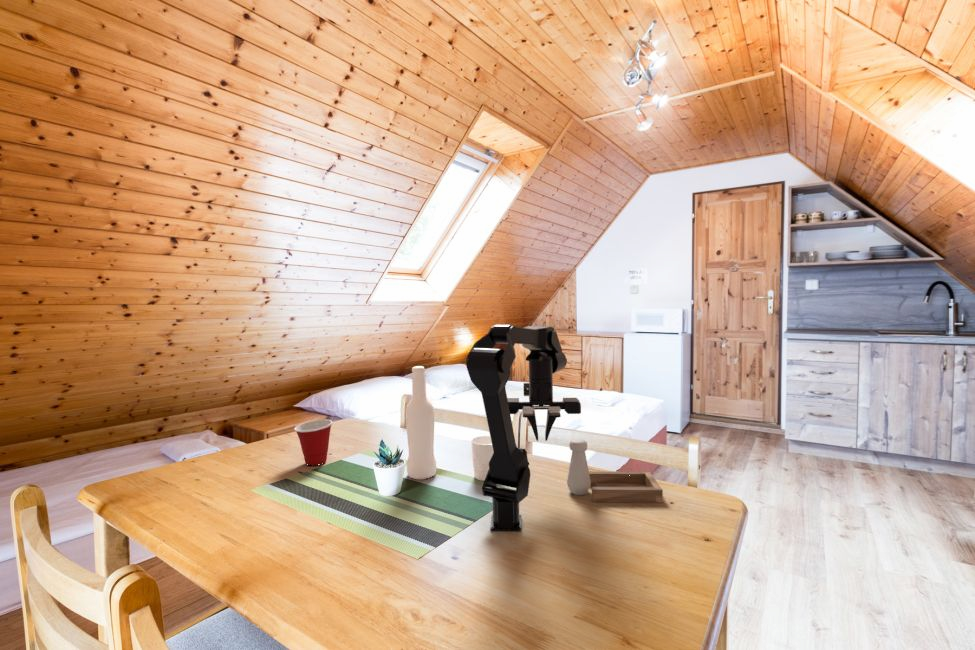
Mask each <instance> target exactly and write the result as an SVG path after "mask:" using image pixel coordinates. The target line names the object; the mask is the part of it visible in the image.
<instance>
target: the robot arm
mask: <svg viewBox="0 0 975 650" xmlns="http://www.w3.org/2000/svg"><path fill="white" fill-rule="evenodd" d="M560 342H561V341H560V339H559V336H558V334H557V331H556V330H555V328H554V326H546V325H545V326H543V325H542V326H540V325H539V326H538V325H533V326H532V325H529V326H524V327H522V326H516V325H513V324H495V325H492V326H490V328H489V330H488V332H487V333H486V334H484V335H483V336H482V337H481V338H479V339H478V340H477V341H475V342H474V344H473V345H472V347H471V349H470V350H469V352H468V354H467V356H466V358H465V366H466V370H467V373H468V376H469V379H470V382H471V383H472V384H473V385H474V386H475V388H477V390H479V391H480V393H481V397H482V402H483V407H484V411H485V415H486V421H487V427H488V432H489V436H490V437H491V442H492V446H493V452H494V453H493V455H492V457H491V459H490V461H489V470H488V473H487V475H486V478H485V481H483V484H482V486H481V491H482V496H484V497H491V498H492V499H491V500H492V503H491V504H492V505H491V506H492V514H491V519H490V525H489V527H490V529H489V530H490V531H511V532H512V531H513V532H514V531H522V514H520V503H521V502H522V501H523V500H524V499H526V498H527V497H528V496H529V488H530V481H531V469H530V467H529V466H530V462H529V459H528V452H527V450H526V449H525V448H521V447H518V446H517V443H516V438H515V437H516V436H515V433H514V428H513V427H514V426H513V421H512V417H511V416H512V415H517V414H518V412H519V411H520V410H521V411H522V417H523V418H525V419H527V421H528V422H529V424H530V427H531V429H532V430H533V434H534V437H535V440H536V441H537V442H538V441H539V432H538V425H537V420H536V419H537V418H536V412H535V411H536V410H547V411H546V412H547V414H546V423H545V433H544V436H545V437H544V438H545V439H544V441H548V439H549V436H550V433H551V430H552V428H553V425H554V423H555V421H556V419H557V418H560V417H561V410H564V412H566V414H568V415H577V414H578V415H580V414H581V413H582V405H581V402H580V400H579V399H578V398H577V397H562V401H554V394H553V393H554V391H553V389H554V388H553V382H554V381H553V374H556V373H558V372H560V371H562V370H564V369H565V367H566V366H567V363H568V359H567V357H566V354H565V353H564V352H563V349H562V345H561V343H560ZM497 344H500V345H501V344H504V345H507V346H506V348H505V350H504V349H503V348H502V349H501V348H494V347H495V346H496V345H497ZM515 344H516V345H522V347H523V348H525V349H526V350H529V353H528V354H527V356H526V358H525V360H526V362H528V382H526V383H525V382H523V397H528V400H529V401H520V398H519V397H508V396H507V390H506V385H507V383H508V380H509V378H510V376H511V374H512V373H511V367H512V366H513V363H514V361H515V360H516V357H517V356H516V351H515ZM497 485H499V486H497ZM502 486H503V487H502ZM506 487H507V488H506ZM508 487H509V488H508ZM512 488H514V489H512Z"/></svg>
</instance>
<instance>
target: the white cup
mask: <svg viewBox="0 0 975 650" xmlns="http://www.w3.org/2000/svg"><path fill="white" fill-rule="evenodd" d="M493 453H494V452H493V446H492V442H491V437H490V435H484V436H483V435H481V436H477V437H474V438H472V439H471V454H472V455H471V456H472V465H473V473H474V474H473V475H474V478H475V479H476V480H478V481H481V482H484V481H485V478H486V475H487V473H488V470H489V461H490V459H491V457H492V455H493Z"/></svg>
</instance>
